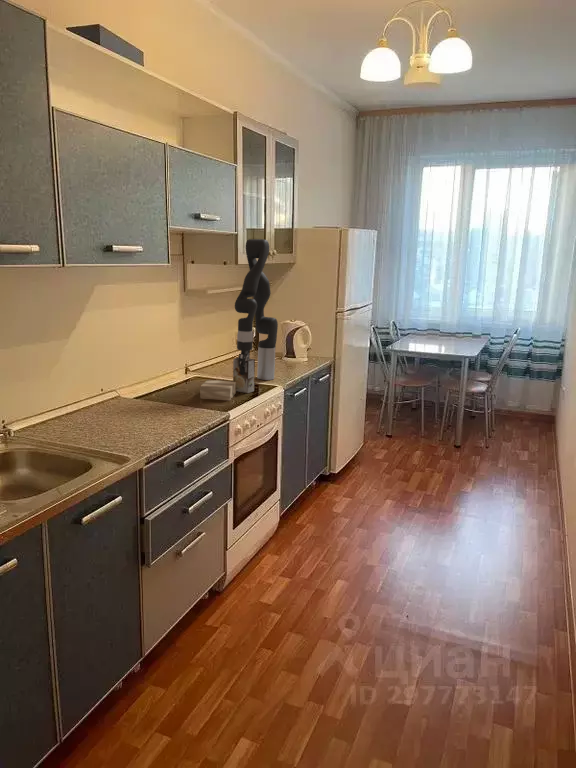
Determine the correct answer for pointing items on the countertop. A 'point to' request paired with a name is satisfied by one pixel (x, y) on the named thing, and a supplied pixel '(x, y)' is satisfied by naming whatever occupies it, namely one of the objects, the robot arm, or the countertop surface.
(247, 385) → the coffee box
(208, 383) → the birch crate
